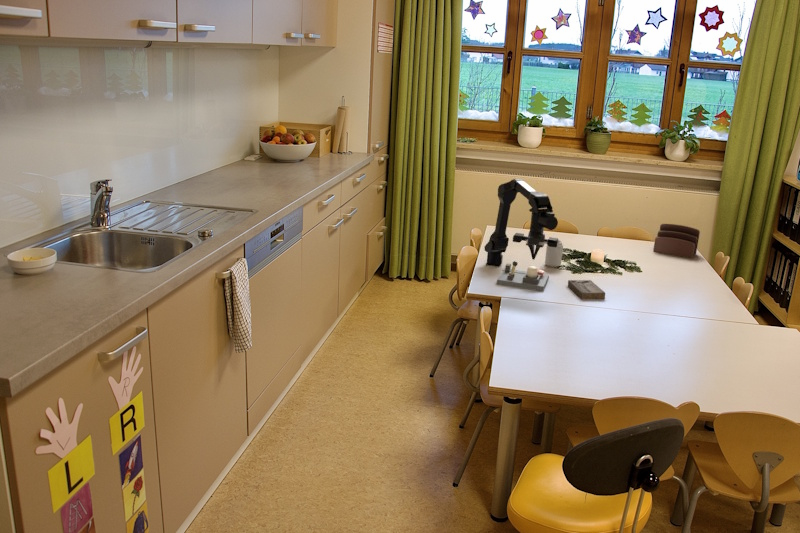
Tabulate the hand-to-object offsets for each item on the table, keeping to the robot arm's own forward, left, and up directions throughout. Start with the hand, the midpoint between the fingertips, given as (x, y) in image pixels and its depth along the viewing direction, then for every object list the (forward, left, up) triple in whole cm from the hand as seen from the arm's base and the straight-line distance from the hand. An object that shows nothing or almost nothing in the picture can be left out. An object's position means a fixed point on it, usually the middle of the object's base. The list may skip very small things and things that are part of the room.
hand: (533, 259), depth 321 cm
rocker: (0, +9, -9) cm, 13 cm away
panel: (-4, +4, -12) cm, 13 cm away
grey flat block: (+23, +2, -13) cm, 27 cm away
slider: (-12, +9, -10) cm, 18 cm away
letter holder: (+61, +89, -12) cm, 108 cm away
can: (+5, +35, -12) cm, 37 cm away
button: (0, 0, -8) cm, 8 cm away
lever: (-9, 0, -10) cm, 13 cm away
